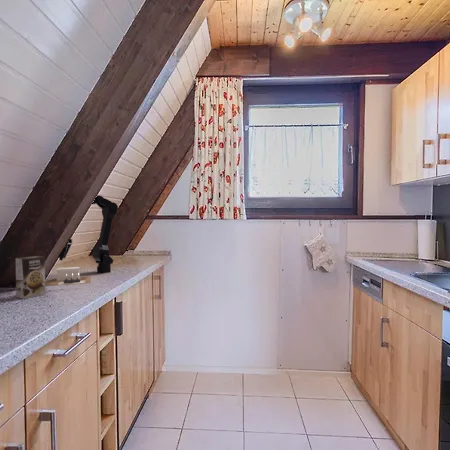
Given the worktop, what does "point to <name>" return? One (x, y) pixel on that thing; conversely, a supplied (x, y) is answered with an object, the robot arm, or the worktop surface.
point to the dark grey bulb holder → (72, 279)
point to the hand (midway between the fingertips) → (62, 259)
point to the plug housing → (68, 271)
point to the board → (54, 282)
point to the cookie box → (30, 276)
